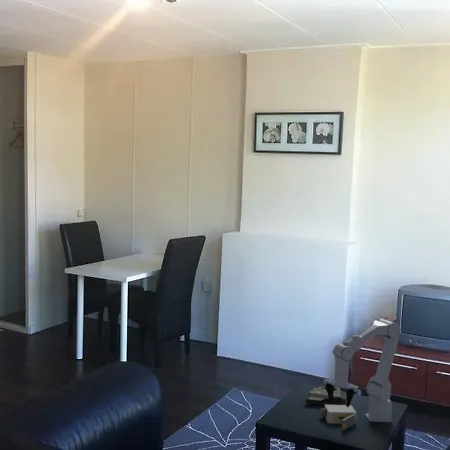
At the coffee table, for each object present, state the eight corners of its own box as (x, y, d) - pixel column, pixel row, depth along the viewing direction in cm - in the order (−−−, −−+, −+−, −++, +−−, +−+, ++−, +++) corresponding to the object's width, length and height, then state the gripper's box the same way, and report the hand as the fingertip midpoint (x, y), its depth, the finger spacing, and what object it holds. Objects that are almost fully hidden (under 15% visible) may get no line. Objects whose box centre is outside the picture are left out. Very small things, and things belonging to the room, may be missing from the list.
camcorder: (349, 407, 278) (350, 396, 278) (306, 407, 276) (306, 396, 275) (338, 394, 294) (339, 384, 294) (297, 394, 292) (298, 383, 291)
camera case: (350, 416, 268) (351, 405, 267) (355, 424, 259) (356, 412, 259) (319, 415, 267) (320, 404, 266) (323, 423, 258) (324, 412, 258)
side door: (353, 423, 259) (354, 413, 259) (356, 424, 258) (357, 414, 258) (340, 430, 252) (341, 419, 251) (344, 431, 251) (345, 421, 250)
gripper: (321, 371, 254) (319, 402, 256) (354, 379, 246) (352, 411, 248) (328, 367, 260) (326, 397, 261) (360, 374, 252) (358, 406, 253)
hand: (339, 404), depth 255 cm, fingers open, 7 cm apart
